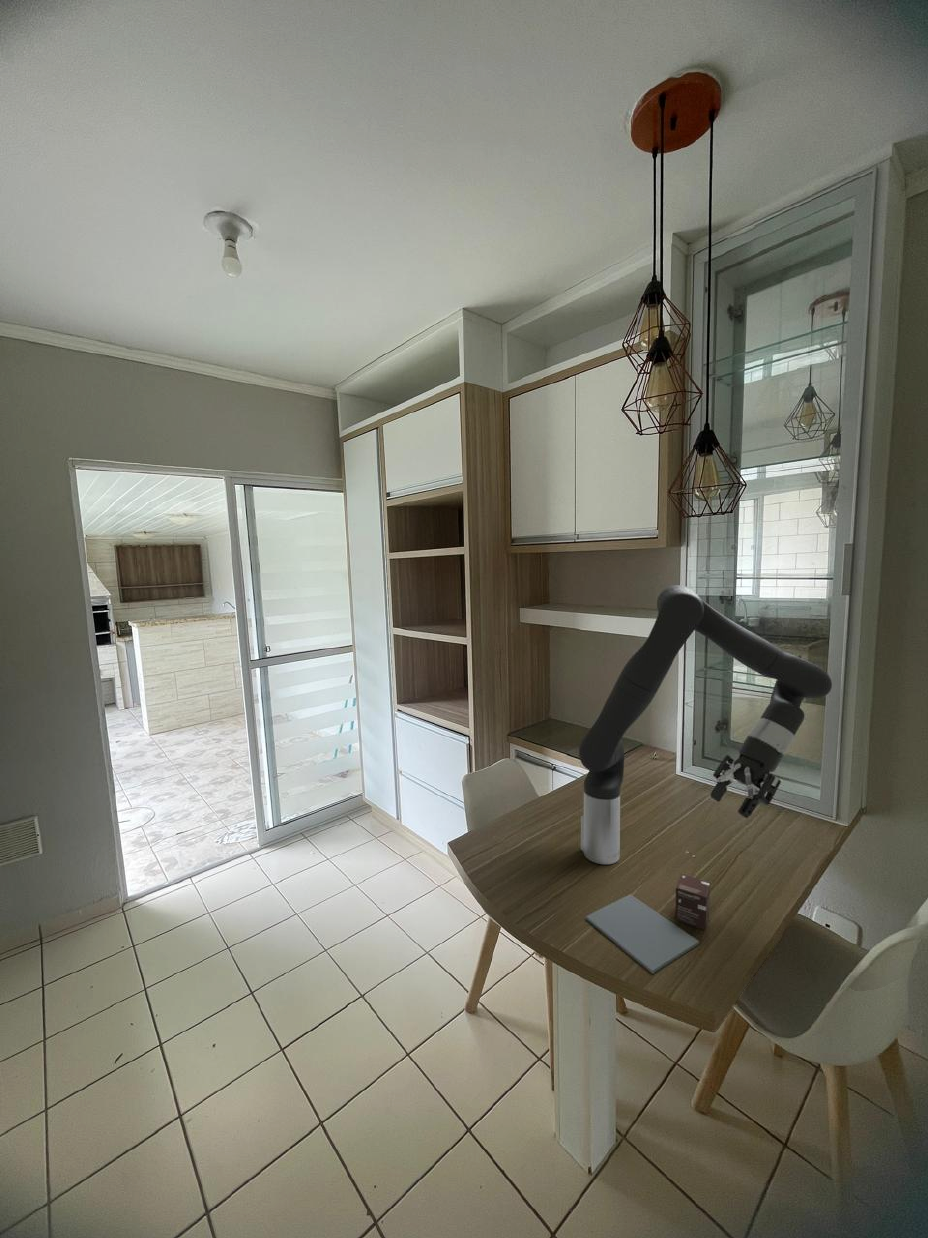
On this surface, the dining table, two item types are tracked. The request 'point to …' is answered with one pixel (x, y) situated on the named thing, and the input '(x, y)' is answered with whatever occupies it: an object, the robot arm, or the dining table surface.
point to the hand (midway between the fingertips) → (727, 807)
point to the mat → (642, 932)
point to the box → (692, 901)
